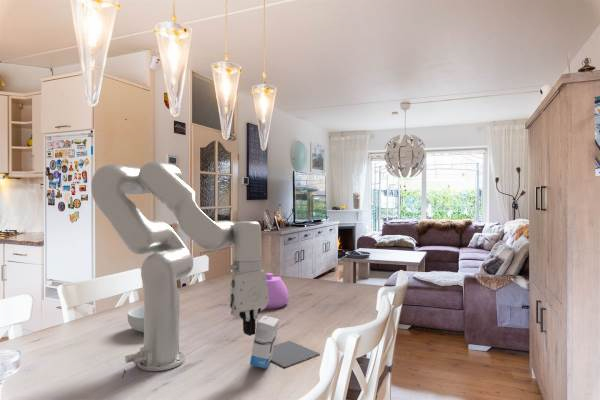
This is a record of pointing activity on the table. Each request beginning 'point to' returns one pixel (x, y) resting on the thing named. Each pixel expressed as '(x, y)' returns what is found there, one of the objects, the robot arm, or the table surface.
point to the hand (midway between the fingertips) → (249, 333)
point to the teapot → (276, 292)
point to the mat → (291, 353)
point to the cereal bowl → (136, 318)
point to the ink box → (264, 341)
